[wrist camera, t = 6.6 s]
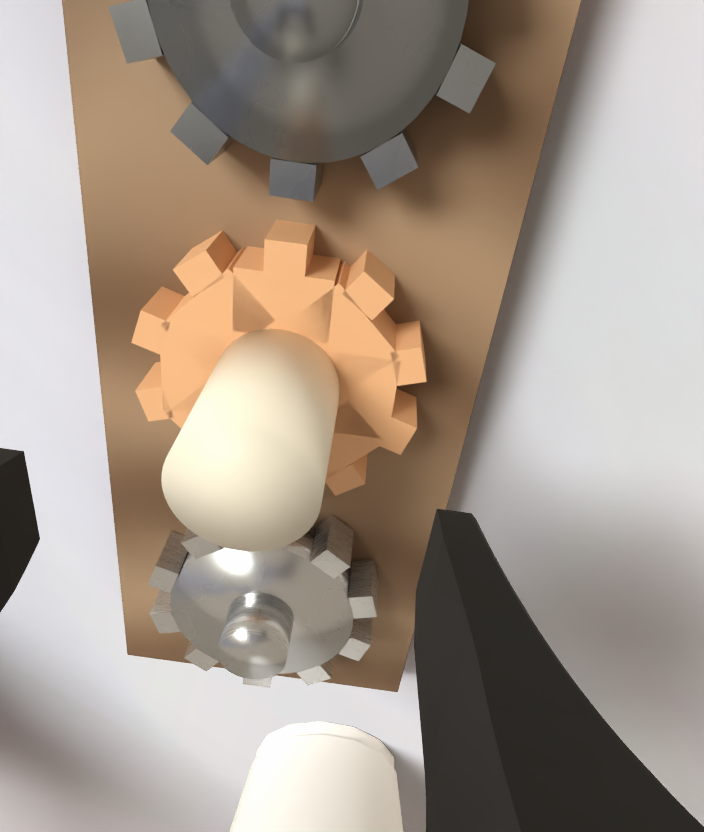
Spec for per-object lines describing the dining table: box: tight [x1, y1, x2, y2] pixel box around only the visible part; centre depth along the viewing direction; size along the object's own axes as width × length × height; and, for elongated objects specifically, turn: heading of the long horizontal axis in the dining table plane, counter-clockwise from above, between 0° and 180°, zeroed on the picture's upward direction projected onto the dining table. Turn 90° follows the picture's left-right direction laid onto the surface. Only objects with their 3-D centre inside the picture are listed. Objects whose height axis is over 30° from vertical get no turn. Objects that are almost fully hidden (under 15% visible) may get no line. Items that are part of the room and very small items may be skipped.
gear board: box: [62, 0, 581, 692], centre depth 17 cm, size 26×10×3 cm, turn 173°
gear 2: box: [148, 515, 379, 688], centre depth 20 cm, size 7×7×3 cm
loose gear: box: [131, 220, 427, 552], centre depth 14 cm, size 7×7×6 cm
